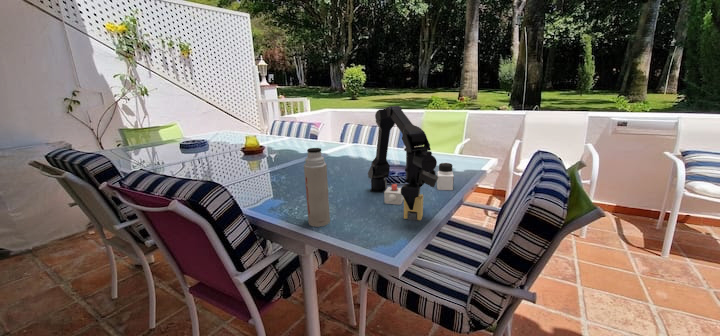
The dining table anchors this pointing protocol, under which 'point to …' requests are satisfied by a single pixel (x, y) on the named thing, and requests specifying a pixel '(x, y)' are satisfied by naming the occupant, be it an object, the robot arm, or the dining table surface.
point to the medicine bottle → (445, 177)
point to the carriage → (415, 207)
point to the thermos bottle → (316, 188)
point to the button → (394, 186)
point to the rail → (412, 215)
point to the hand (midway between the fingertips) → (413, 205)
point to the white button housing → (393, 196)
